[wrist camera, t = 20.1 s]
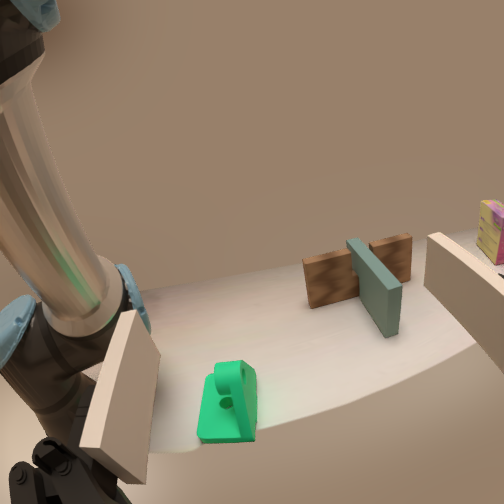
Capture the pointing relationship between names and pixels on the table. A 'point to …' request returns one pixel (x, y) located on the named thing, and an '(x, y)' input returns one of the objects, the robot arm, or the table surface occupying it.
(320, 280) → the notched brown wooden panel
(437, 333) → the table surface
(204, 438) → the camera mount
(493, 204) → the box
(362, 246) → the cross plate
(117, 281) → the robot arm
